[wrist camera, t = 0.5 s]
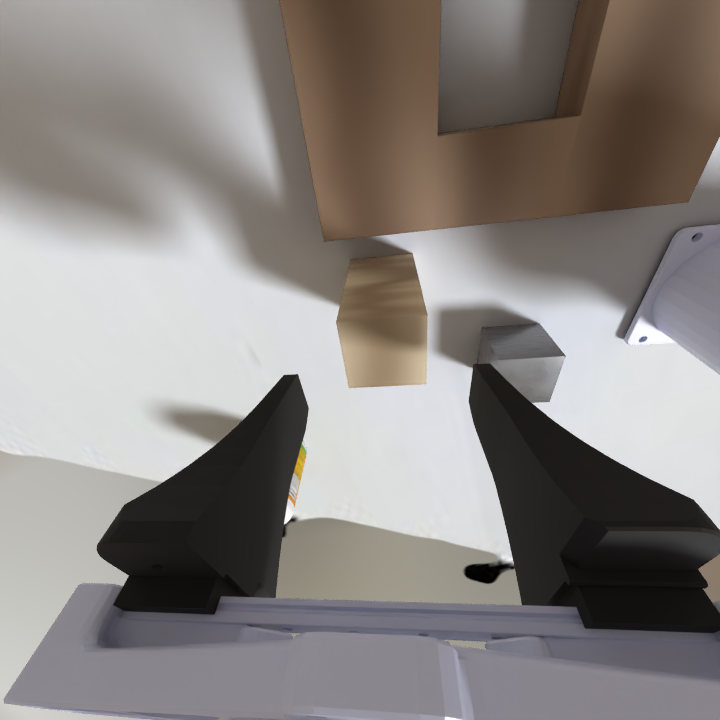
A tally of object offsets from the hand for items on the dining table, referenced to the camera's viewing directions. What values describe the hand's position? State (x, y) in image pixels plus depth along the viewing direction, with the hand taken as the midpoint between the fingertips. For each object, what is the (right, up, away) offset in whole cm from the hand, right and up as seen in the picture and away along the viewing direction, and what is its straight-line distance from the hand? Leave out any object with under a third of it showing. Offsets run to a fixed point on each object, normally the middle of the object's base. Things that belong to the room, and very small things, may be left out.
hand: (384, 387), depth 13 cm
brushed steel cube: (+10, +2, +11) cm, 15 cm away
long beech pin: (+1, +6, +8) cm, 10 cm away
